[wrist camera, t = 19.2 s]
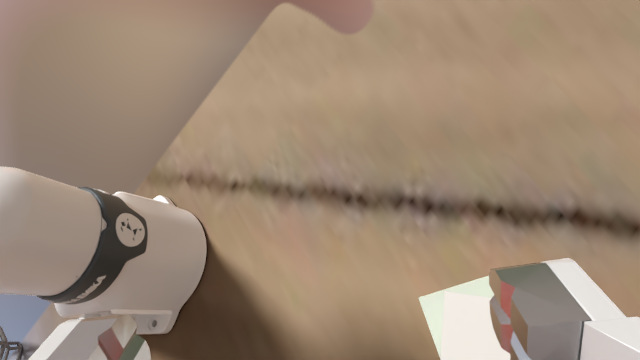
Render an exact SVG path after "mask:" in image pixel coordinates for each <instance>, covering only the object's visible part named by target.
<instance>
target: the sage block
mask: <svg viewBox="0 0 640 360" xmlns="http://www.w3.org/2000/svg"><path fill="white" fill-rule="evenodd" d="M445 291H447V292H454V293H461V294H468V295H475V296H482V297H489V298H492V297H493V296H494V293H493V291H492V289H491V287H490V285H489V276H486V277H483V278H480V279H476V280H473V281H470V282H467V283H464V284H461V285H457V286H454V287H451V288H448V289H445V290H441V291H438V292H435V293H432V294H429V295H425V296H422V297H419V301H420V304H421V306H422V309H423V312H424V315H425V318H426V320H427V323H428V326H429V329H430V331H431V334H432V337H433V340H434V343H435V345H436V348H437V351H438V354H439V357H440V359H441V342H442V325H443V309H444V292H445Z"/></svg>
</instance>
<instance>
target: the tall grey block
mask: <svg viewBox="0 0 640 360" xmlns="http://www.w3.org/2000/svg"><path fill="white" fill-rule="evenodd" d="M491 299H492V298H489V297H482V296H475V295H468V294H461V293H454V292H447V291H445V292H444V309H443V325H442V342H441V359H440V360H510V353H508V352H507V351H505V350H504V349H502V348H501V346H500V344H499V342H498V339H497V337H496V334H495V331H494V329H493V325H492V320H491V315H490V302H489V301H490V300H491Z"/></svg>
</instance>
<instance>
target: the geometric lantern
mask: <svg viewBox="0 0 640 360" xmlns="http://www.w3.org/2000/svg"><path fill="white" fill-rule="evenodd" d="M0 337H1V339H2V341H0V345H1V348H0V360H1V359H2V356H3V353H4V350H5V348H7V349H6V353H5V357H4V360H7V357H8V354H9V350H16V349H19V351H18V355H17V359H16V360H19V359H20V355H21V351H22V346H21V344H20V343H19V342H7V338H6V336H5V334H4V332H3V329H2V328H1V327H0ZM12 344H13V345H14V344H17V346H18V347H10V346H9V345H12Z"/></svg>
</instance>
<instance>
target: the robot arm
mask: <svg viewBox="0 0 640 360" xmlns="http://www.w3.org/2000/svg"><path fill="white" fill-rule="evenodd" d="M206 253H207V246H206V238H205V233H204V230H203V228H202V226H201V224H200V222H199V221H198V219H197V218H196V217H195V216H194V215H193V214H191V213H190V212H188V211H186V210H183V209H180V208H178V207H176V206H175V205H174V204H173V202H172V201H171V200H170V199H169V198H168V197H165V196H157V197H155V198H154V199H149V198H145V197H141V196H138V195H134V194H129V193H125V192H116V193H115V194H113V195H111V194H109V193H107V192H105V191H102V190H98V189H92V188H88V187H78V188H76V187H73V186H70V185H67V184H63V183H61V182H57V181H54V180H51V179H48V178H45V177H42V176H39V175H36V174H33V173H30V172H27V171H24V170H21V169H18V168H11V167H0V294H17V295H36V296H37V297H39V298H41V299H45V300H47V301H49V302H53V303H54V304H55V308H56V310H57V312H58V314H59V315H60V316H61V317H64V318H78V319H75V320H68V321H66V322H64V323H61V324H60V325H59V326H58V327H57V328H56V329H55V330H54V331H53V333H52V334H51V335H50V336H49V337H48V338H47V339H46V340H45V341H44V343H43V344H42V345H41V346H40V347H39V348H38V349H37V350H36V351H35V353H34V354H33V355H32V356H31V357H30V358H29V359H28V360H151V355H150V349H149V346H148V344H147V342H146V340H145V339H143V338H141V337H140V336H138V335H142V334H166V333H168V332H169V331H170V330H171V329H172V327H173V325H174V323H175V321H176V318H177V316H178V313H179V311H180V309H181V307H182V306H183V305H184V303H185V302H186V301H187V300H188V298H189V297H190V296H191V295H192V293H193V292H194V290H195V289H196V287H197V285H198V283H199V281H200V279H201V276H202V273H203V270H204V266H205V261H206ZM489 285H490V287H491V289H492V291H493V293H494V296H493V297H492V299H491V300H490V301H489V302H490V315H491V320H492V325H493V329H494V331H495V334H496V337H497V339H498V342H499V344H500V346H501V348H502V349H504V350H505V351H507V352H508V353H510V360H640V318H638V317H628V318H627V316H626V315H625V314H624V313H623V312H622V311H621V310H620V309H619V308H618V307H617V306H616V305H615V304H614V303H613V302H612V300H611V299H610V298H609V297H608V296H607V295H606V294H605V293H604V292H603V291H602V290H601V289H600V288H599V287H598V286H597V285H596V283H595V282H594V281H593V280H592V279H591V278H590V277H589V276H588V275H587V274H586V273H585V272H584V271H583V270H582V269H581V267H580V266H579V265H578V264H577V263H576V262H575V261H574V260H572V259H570V258H564V259H557V260H550V261H544V262H541V263H533V264H525V265H517V266H510V267H502V268H494V269H490V273H489ZM156 322H157V325H156Z"/></svg>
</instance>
